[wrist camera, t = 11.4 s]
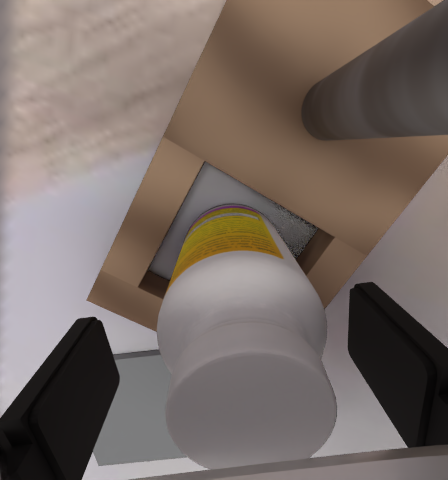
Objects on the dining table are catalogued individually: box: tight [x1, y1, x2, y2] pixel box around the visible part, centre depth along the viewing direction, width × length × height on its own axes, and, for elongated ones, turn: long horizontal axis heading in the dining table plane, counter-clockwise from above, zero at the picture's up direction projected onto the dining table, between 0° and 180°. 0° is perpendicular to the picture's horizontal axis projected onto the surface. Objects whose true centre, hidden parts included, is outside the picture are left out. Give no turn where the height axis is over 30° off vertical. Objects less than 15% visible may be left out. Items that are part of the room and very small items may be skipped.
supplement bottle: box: [157, 204, 337, 470], centre depth 13 cm, size 7×7×13 cm
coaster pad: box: [93, 350, 187, 466], centre depth 24 cm, size 12×12×1 cm
